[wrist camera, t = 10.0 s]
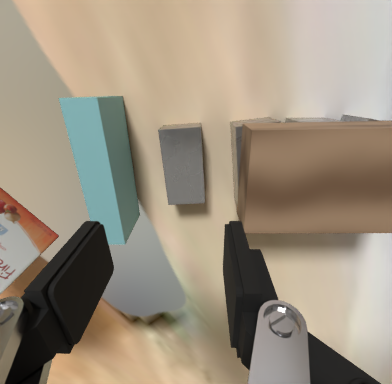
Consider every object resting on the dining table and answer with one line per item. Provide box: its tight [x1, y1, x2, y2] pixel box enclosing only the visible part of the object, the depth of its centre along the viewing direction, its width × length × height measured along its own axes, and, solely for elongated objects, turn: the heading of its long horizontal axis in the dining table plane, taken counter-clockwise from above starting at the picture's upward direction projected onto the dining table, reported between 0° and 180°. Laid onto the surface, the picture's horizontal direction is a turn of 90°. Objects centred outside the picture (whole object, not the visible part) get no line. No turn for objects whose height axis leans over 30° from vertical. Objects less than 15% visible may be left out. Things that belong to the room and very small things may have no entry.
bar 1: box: [158, 123, 205, 205], centre depth 24 cm, size 8×4×3 cm, turn 4°
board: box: [237, 121, 392, 233], centre depth 19 cm, size 9×15×4 cm, turn 91°
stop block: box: [59, 96, 140, 244], centre depth 22 cm, size 14×3×6 cm, turn 1°
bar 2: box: [230, 117, 281, 204], centre depth 23 cm, size 9×4×4 cm, turn 7°
